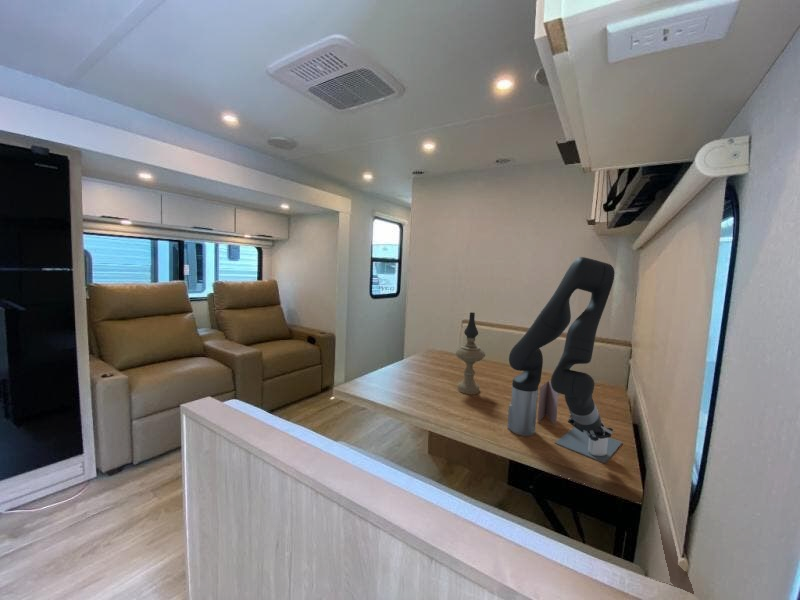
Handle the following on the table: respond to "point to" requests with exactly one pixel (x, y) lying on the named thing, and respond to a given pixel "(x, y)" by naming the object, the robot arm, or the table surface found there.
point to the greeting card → (548, 403)
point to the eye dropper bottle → (598, 446)
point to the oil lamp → (470, 358)
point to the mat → (586, 444)
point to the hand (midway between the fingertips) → (594, 437)
